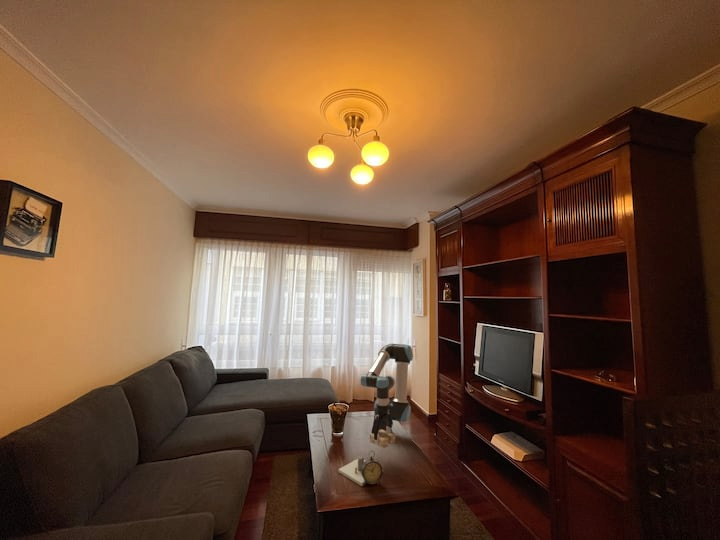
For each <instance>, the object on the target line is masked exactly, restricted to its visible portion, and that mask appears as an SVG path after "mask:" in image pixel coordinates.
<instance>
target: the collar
mask: <svg viewBox="0 0 720 540" xmlns="http://www.w3.org/2000/svg"><path fill="white" fill-rule="evenodd" d="M378 434H379V446H378V447H380V448H383V449H385V448H388V447H389V444H390V445H392V444H394V443H396V434H394V433H393V432H392V433H390V432H387V431H385V430H382V429H381V430H379V431H378ZM369 443H372V444H374V434H373V433H371V434H369ZM374 445H375V444H374Z"/></svg>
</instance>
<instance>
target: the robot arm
mask: <svg viewBox="0 0 720 540" xmlns="http://www.w3.org/2000/svg"><path fill="white" fill-rule="evenodd" d="M413 352H414V351H413V349H412V346H411V345H409V344H401V343H388V344H386V345H384V346H383V347H382V348H380V349H379V351H378V353H377V357H376V358H375V360H374V362H373V363H372V365H371V366H370V369H369V371H368V372H367V374H366V373H365V374H362V375H361V377H360V385H361V387H366V388H373V389H376V400H375V401H374V407H373V409H374V412H373V413H374V415H373V423H372V427H371V432H370V433H371V434H374V445H375V446H378V447H380V446H379V434H378V431H379V430H381V429H382V430H385V431H387V432H390V433H392V434H393V429H392V428H393V425H394V421H396V422H400V423H401V422H402V423H407V422H408V421H409V418H410V415H411V411H412V410H411V409H412V408H411V405H410V404H409V401H408V400H407V398H408V397H407V396H408V395H407V394H408V393H407V392H408V376H409V375H408V374H409V373H408V371H409V365H410V364H411V362H412V361H413V360H414V354H413ZM389 360H394V362H395V364H396V371H395V372H396V373H395V375H396V376H395V378H394V377H393V376H391V375H387V376H380V375H381V373H382V371H383V370H384V367H385V365H386V363H387V362H388V361H389ZM394 387H395V390H394V398H393V399H392V401H391V400H390V397H389V393H390V390H391V389H393V388H394Z"/></svg>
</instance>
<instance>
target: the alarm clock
mask: <svg viewBox="0 0 720 540" xmlns="http://www.w3.org/2000/svg"><path fill="white" fill-rule="evenodd" d="M370 453H373V456H370ZM368 457H369V458H368V459H365V460H366V461H365V462H364V463H363V465H362V468H361V473H362V476H363V479H364V480H365V484H364V485H363V486H366V484H368V485H375V484H377V483H379V484H381V482H380V481H381V479H382V476H383V473H384V469H383V467H382V465H381V463H380V462H379V460H378V459H376V458H373V457H375V452H374V451H373V450H371V451H370V452H368ZM382 469H383V470H382Z"/></svg>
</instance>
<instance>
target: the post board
mask: <svg viewBox="0 0 720 540" xmlns="http://www.w3.org/2000/svg"><path fill="white" fill-rule="evenodd" d="M366 460H367V459H365V457H364V456H361V455H360V456H358V457H357V458H356V459H354V460H353V461H351V462H349V463H348V464H346V465H344V466H342V467H340V468H338V471H337V472H338V474H341V475H342V476H344V477H345V478H347V479H348V480H350V481H352V482H354V483H355V484H357V485H359V486H360V487H363V486H364V484H365V480H364V479H363V476H362V473H361V468H362V465H363V463H364V462H365V461H366ZM382 470H383V471H384V469H383V468H382ZM365 485H366V484H365Z"/></svg>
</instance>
